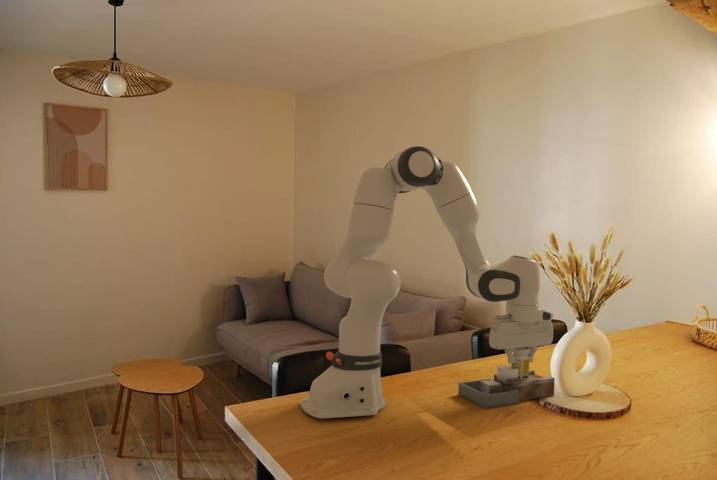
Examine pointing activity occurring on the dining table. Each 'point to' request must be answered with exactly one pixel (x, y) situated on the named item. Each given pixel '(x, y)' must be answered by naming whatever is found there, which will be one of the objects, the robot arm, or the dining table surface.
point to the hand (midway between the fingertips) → (520, 362)
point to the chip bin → (474, 395)
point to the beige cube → (490, 387)
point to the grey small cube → (507, 374)
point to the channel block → (532, 386)
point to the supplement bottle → (521, 362)
